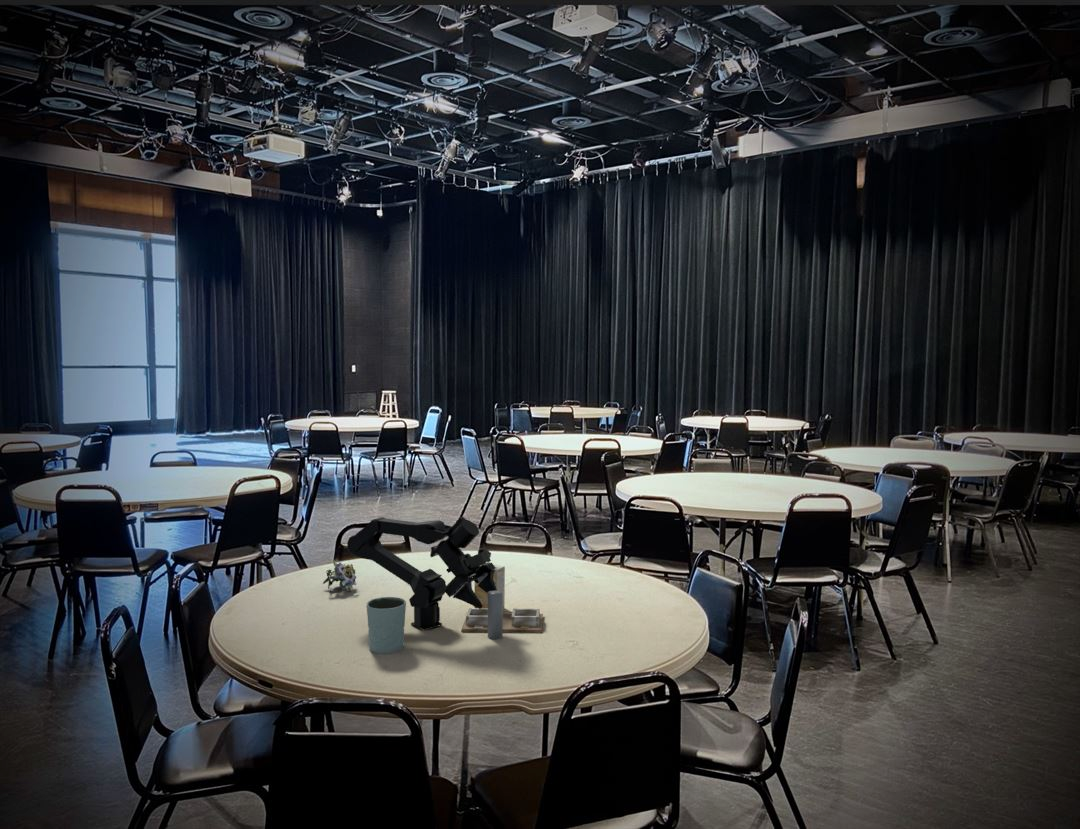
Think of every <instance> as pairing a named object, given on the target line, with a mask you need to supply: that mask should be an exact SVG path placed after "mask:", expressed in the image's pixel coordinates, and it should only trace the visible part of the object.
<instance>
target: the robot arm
mask: <svg viewBox="0 0 1080 829" xmlns="http://www.w3.org/2000/svg"><path fill="white" fill-rule="evenodd" d="M383 534H386V535H393V536H398V537H399V536H401V537H406V538H407V537H409V538H412V539H414V540H415V541H417V542H419V543H421V544H422V543H423V544H425V545H432V544H435V543H438V544H437V545H434V546H431V547H430V555H429V557H430V558H434V557H436V556H438V557H439V558H440V559H441V561H442V562H443V564H445V565H446V566H447V569H446V572H447V573H448V574H449V573H452V575H453V576H454V577H453V578H452V579H451V581H449V582H448V584H447V583H446V580H445V579H444V578H443V577H442V575H443V574H439V573H437V572H436V571H435V570H433V569H431V568H428V569H426V570H424V571H421V570H419V569H418V568H416V567H415V566H413V565H412V564H410V563H408V562H407V561H406V560H404V559H402V558H401V557H399V556H397V555H396V554H394V553H393V552H392V551H390V550H388V549H387V548H385V547H384V546H383V544H382V543H381V540H380V539H381V538H382V537H383ZM479 534H480V530H479V527H478V526H477V524H476V523H474V522H472V521H471V520H469V519H467V518H465V517H464V516H460V517H459V518H458V519H457V520H456V522H455V523H454V524H453V525H452V526H451V525H447V524H445V523H444V521H442V520H438V519H437V520H427V521H421V522H417V521H408V520H400V519H392V518H386V517H381V516H380V517H377V518H373V519H372V520H370V522H368V523H367V524H366V525H365V526H364V527H363V528H362V529H360V530H359V531H358V532H356V533H355V534H354V535H352V536H350V537H349V538H348V539H347V543H346V544H347V551H348V552H349V553H350V555H353V556H355V557H357V558H359V559H363V560H369V561H372V562H374V563H376V564H377V565H378V566H380V567H382V568H383V569H385V570H386V571H388V572H389V573H390V574H392V575H394V576H395V577H396V578H398V579H400V580H401V581H403V582H404V583H406V584H407V585H409V586H410V588H411V590H412V592H413V595H412V596H411V597H410V598H409V604H410V607H412V608H413V622H411V623H410V625H411V626H413V627H416V628H418V629H420V630H421V631H422V630H428V629H432V628H436V627H440V626H442V625H443V623H442V622H440V620H441V616H440V615H441V610H440V609H441V608H440V606H439V605H440V604H439V603H440V602H441V601H442V599H443V596H444V595H445V594H446V595H447V597H448V598H451V597H452V598H453V599H457V600H460V601H462V602H464V603H466V604H469V605H471V606H472V607H474V606H475V607H477V608H479V609H481V608H482V607H483V605H482V604H481V602H480V600H479V599H478V597H477V596H476V594H475V590H474V589H473V587H472V586H473V584H472V582H474V583H475V582H476V583H479V584H478V585H477V586H478V587H480V588H481V589H482V590H484V591H485V592H486V593H488V592H489V591H497V589H496V586H495V583H494V580H493V576H494V573H495V569H496V567H495V566H494V565H495V564H493V562H491V561H492V560H491V558H492V557H491V556H492V552H490V550H489V549H487V547H483V548H479V549H478V550H477V554H475V555H471V554H470V553H464V551H463V550H462V549H466V548H467V547H468V546H469V545H470V544H471V543H472V541H473V540H474V539H475V538H476V537H478V535H479ZM445 538H446V539H445ZM477 569H478V570H477ZM476 570H477V571H476Z"/></svg>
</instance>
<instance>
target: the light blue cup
mask: <svg viewBox="0 0 1080 829" xmlns="http://www.w3.org/2000/svg"><path fill="white" fill-rule="evenodd" d="M406 606H407V601H406V600H405V599H404V598H403V597H402V598H401V597H395V596H383V597H377V598H372V599H370V600H368V601H367V602H366V616H367V626H368V648H369V651H370V652H372V653H374V654H382V655H383V654H384V655H385V654H392V653H396V652H399V651H401V650H402V649H403V648H404V638H405V629H404V628H405V623H406V622H405V621H406V610H407V609H406V608H407V607H406Z"/></svg>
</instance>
